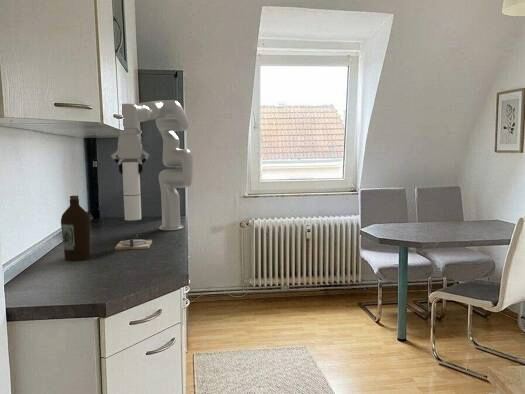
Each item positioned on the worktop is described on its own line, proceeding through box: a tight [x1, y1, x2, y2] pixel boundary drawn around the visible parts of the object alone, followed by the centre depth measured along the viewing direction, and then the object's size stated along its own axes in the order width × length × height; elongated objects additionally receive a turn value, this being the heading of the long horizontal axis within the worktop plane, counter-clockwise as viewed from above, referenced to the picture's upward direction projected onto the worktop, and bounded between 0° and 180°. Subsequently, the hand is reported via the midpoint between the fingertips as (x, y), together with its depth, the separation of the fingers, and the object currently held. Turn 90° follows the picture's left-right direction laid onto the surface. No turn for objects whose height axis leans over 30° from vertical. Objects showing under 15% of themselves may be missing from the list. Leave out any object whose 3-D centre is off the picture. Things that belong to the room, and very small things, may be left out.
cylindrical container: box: [122, 161, 142, 221], centre depth 203 cm, size 7×7×25 cm
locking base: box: [114, 233, 153, 251], centre depth 206 cm, size 14×14×4 cm
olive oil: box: [60, 195, 91, 262], centre depth 183 cm, size 11×11×25 cm
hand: (131, 173), depth 202 cm, fingers closed on cylindrical container, 7 cm apart
